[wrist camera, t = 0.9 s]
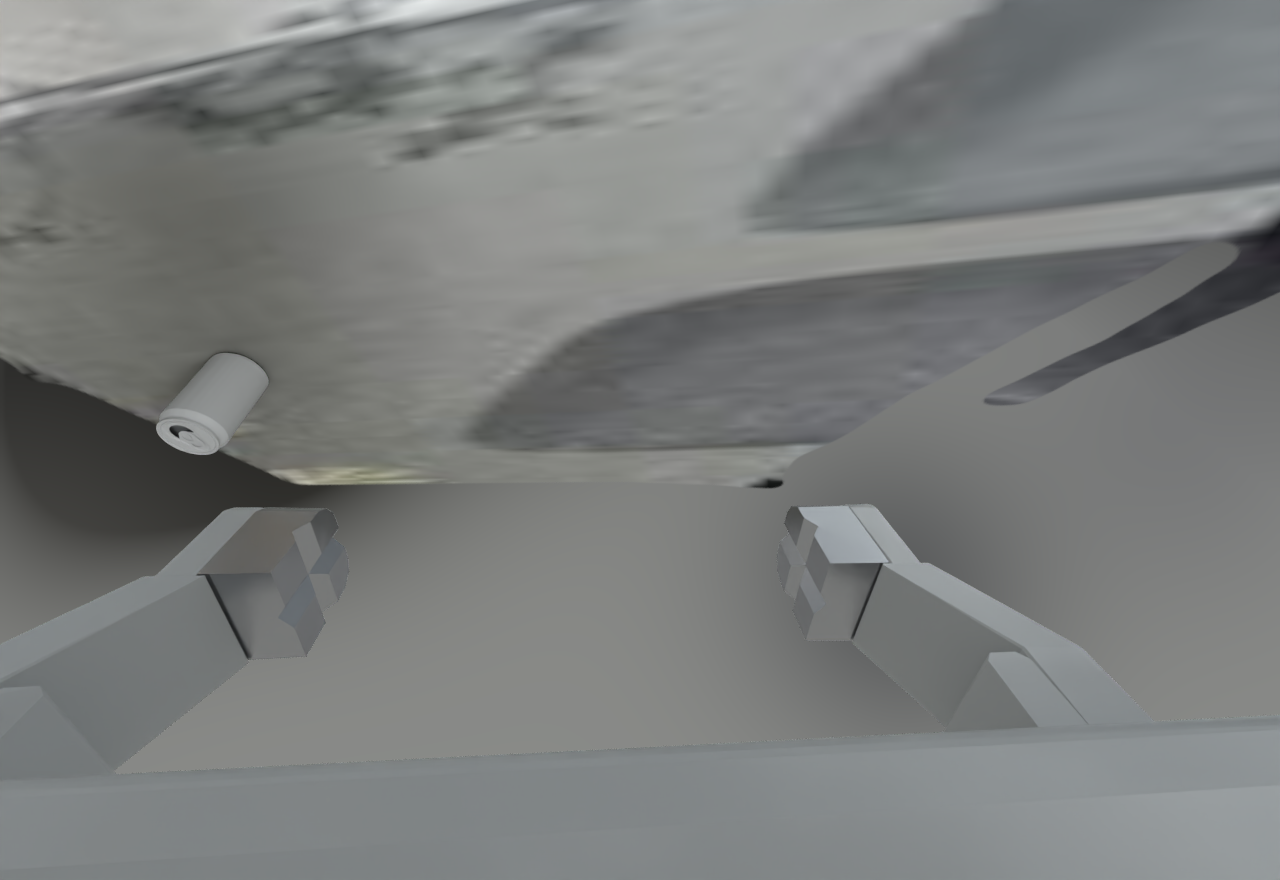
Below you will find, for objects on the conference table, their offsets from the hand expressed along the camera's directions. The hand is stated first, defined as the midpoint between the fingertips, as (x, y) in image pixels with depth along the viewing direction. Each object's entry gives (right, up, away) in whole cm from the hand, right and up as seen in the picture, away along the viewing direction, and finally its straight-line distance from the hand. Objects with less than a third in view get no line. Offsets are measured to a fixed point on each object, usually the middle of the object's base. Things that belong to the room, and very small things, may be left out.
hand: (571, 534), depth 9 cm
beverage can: (-49, +11, +54) cm, 74 cm away
